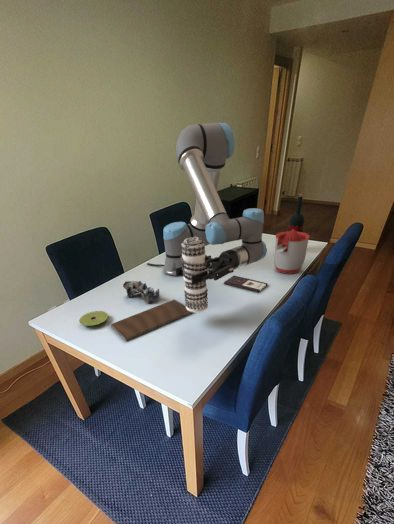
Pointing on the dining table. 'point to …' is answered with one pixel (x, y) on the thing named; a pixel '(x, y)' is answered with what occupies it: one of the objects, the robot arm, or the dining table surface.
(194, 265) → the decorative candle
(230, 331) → the dining table surface
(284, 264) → the citrus juicer
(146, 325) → the walnut board
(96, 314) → the mat
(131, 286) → the foil
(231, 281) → the chocolate bar
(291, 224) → the wine bottle
